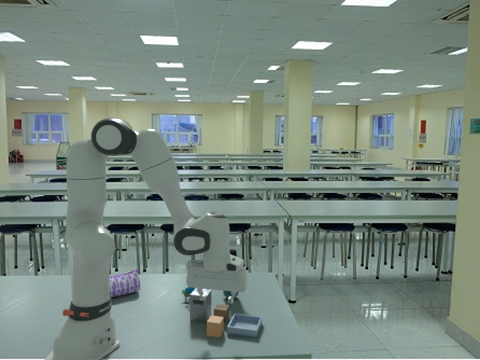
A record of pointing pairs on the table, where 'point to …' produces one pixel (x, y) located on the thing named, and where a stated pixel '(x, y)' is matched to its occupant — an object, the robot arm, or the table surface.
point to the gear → (187, 292)
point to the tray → (244, 325)
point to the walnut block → (222, 311)
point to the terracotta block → (215, 326)
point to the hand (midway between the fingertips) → (216, 301)
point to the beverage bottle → (228, 293)
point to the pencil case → (124, 284)
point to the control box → (200, 306)
